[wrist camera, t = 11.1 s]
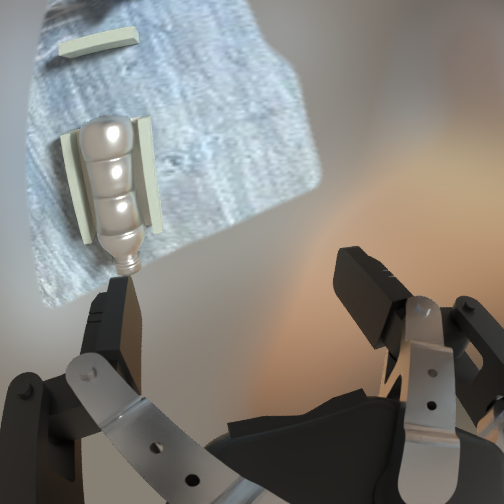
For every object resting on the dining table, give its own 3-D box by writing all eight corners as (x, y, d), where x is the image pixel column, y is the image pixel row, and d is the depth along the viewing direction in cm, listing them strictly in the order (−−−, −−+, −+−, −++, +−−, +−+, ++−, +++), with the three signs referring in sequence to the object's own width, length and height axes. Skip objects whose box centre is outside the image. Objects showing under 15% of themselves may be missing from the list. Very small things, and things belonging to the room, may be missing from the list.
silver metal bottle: (97, 118, 25) (126, 288, 35) (145, 109, 30) (162, 262, 40) (66, 123, 27) (96, 273, 37) (111, 112, 33) (130, 251, 43)
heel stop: (70, 48, 26) (58, 43, 23) (138, 32, 28) (134, 25, 24) (70, 58, 27) (58, 55, 23) (138, 43, 29) (134, 37, 25)
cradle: (70, 130, 32) (60, 135, 28) (150, 115, 34) (147, 117, 31) (90, 231, 39) (84, 244, 36) (163, 219, 41) (162, 232, 38)
